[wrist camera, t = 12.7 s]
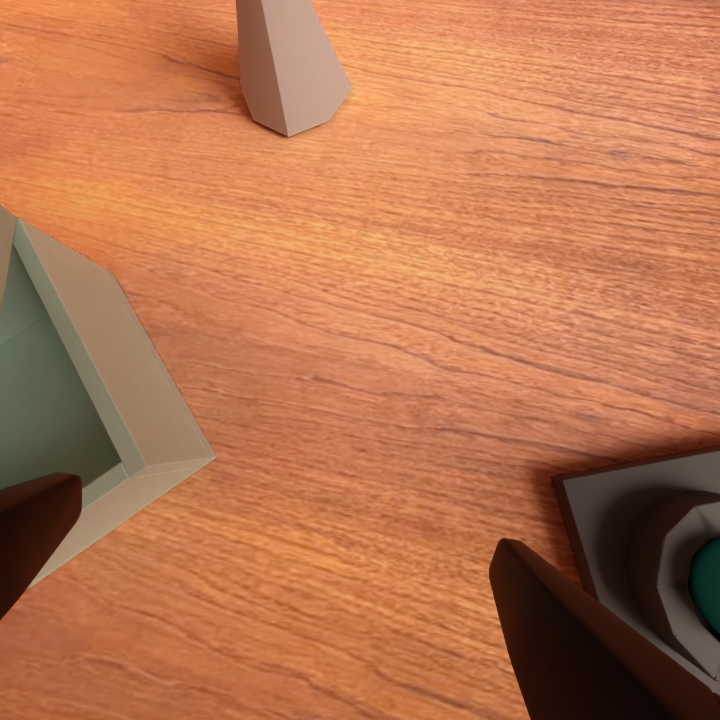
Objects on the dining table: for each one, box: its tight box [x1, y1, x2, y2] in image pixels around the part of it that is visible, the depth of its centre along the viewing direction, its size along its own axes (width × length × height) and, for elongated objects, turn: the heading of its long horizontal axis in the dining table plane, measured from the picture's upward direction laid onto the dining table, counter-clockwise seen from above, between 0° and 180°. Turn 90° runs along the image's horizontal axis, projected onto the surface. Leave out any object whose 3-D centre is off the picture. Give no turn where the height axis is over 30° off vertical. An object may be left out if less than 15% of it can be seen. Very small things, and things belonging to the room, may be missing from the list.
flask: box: [236, 0, 352, 137], centre depth 19 cm, size 7×7×10 cm
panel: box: [551, 445, 720, 695], centre depth 15 cm, size 10×10×3 cm
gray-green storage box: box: [0, 218, 217, 589], centre depth 18 cm, size 14×12×6 cm
